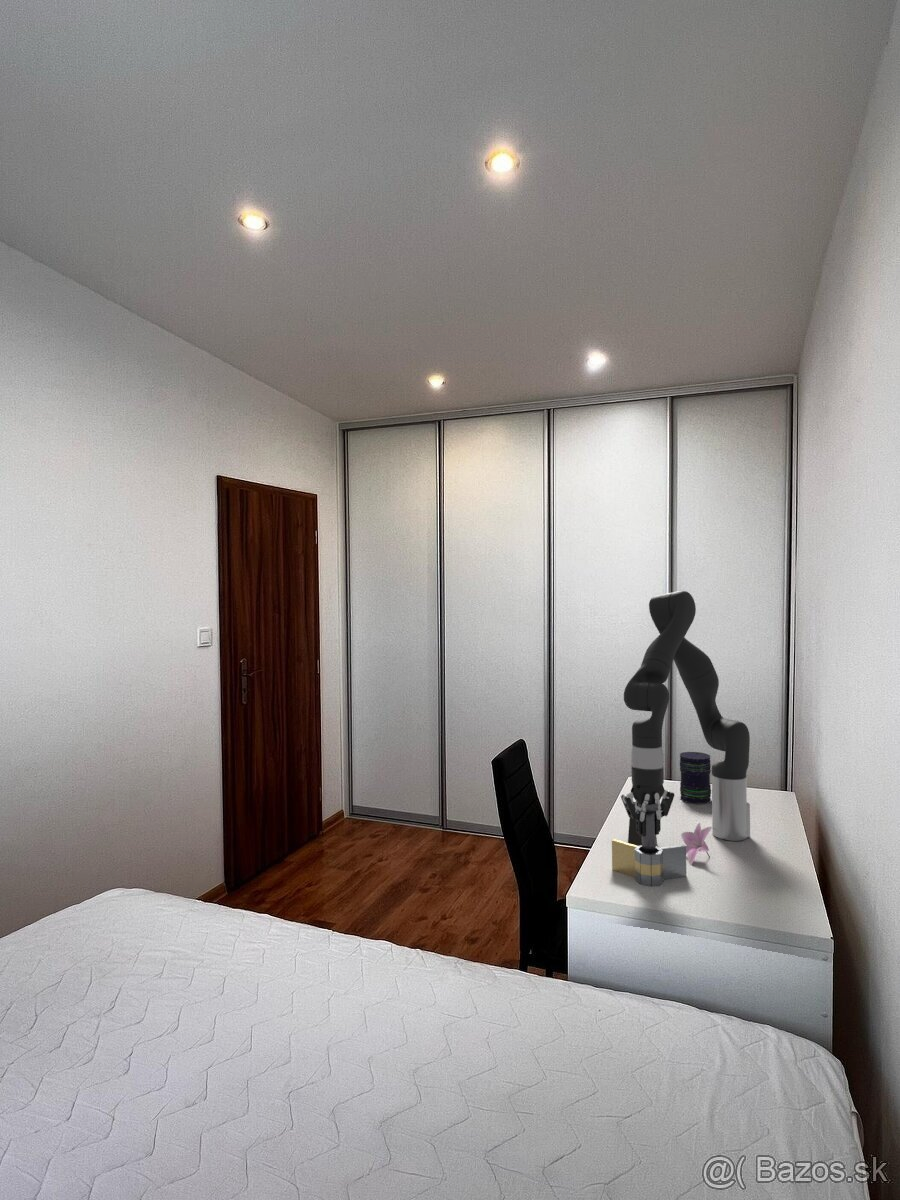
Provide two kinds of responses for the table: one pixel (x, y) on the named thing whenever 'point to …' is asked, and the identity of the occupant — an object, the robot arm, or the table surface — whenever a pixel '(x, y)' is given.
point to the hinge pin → (649, 828)
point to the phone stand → (635, 832)
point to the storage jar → (695, 777)
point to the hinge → (649, 862)
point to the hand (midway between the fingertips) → (648, 834)
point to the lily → (695, 842)
